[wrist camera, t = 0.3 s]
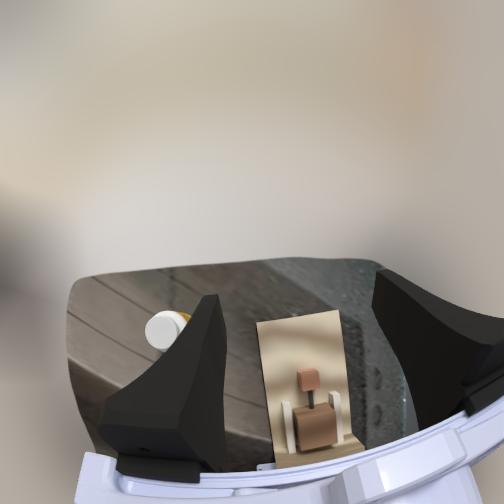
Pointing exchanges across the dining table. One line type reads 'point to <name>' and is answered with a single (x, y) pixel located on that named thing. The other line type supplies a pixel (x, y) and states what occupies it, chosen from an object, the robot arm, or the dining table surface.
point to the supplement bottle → (165, 328)
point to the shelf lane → (290, 394)
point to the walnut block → (314, 416)
